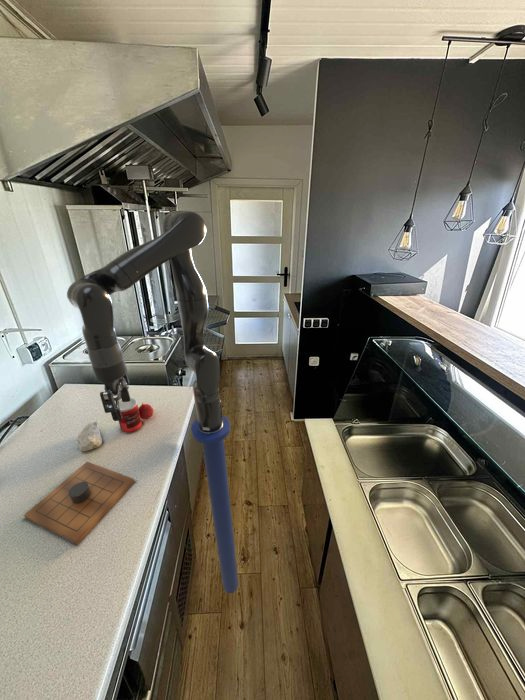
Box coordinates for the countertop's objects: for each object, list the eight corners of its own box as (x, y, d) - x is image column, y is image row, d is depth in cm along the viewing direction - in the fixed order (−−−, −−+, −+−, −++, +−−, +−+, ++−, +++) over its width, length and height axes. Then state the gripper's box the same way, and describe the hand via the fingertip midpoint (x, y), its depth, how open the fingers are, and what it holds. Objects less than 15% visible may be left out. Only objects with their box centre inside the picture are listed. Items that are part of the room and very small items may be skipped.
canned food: (127, 419, 117) (121, 397, 112) (146, 420, 116) (140, 398, 111) (117, 432, 110) (109, 409, 105) (136, 433, 109) (130, 410, 104)
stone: (80, 459, 103) (73, 449, 95) (78, 428, 109) (71, 416, 101) (104, 452, 106) (98, 442, 98) (101, 422, 112) (95, 410, 104)
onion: (157, 415, 119) (153, 399, 115) (150, 424, 114) (146, 408, 110) (144, 413, 120) (140, 398, 116) (136, 422, 114) (132, 406, 111)
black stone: (82, 486, 87) (79, 479, 85) (94, 491, 85) (92, 484, 84) (67, 500, 82) (64, 493, 81) (80, 506, 81) (76, 499, 80)
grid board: (88, 464, 96) (86, 461, 95) (134, 482, 90) (133, 478, 89) (25, 518, 79) (23, 515, 79) (77, 545, 73) (75, 541, 72)
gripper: (114, 372, 68) (130, 425, 75) (129, 346, 80) (142, 394, 87) (80, 375, 67) (99, 428, 74) (101, 348, 79) (116, 396, 86)
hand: (122, 410), depth 81 cm, fingers open, 8 cm apart
